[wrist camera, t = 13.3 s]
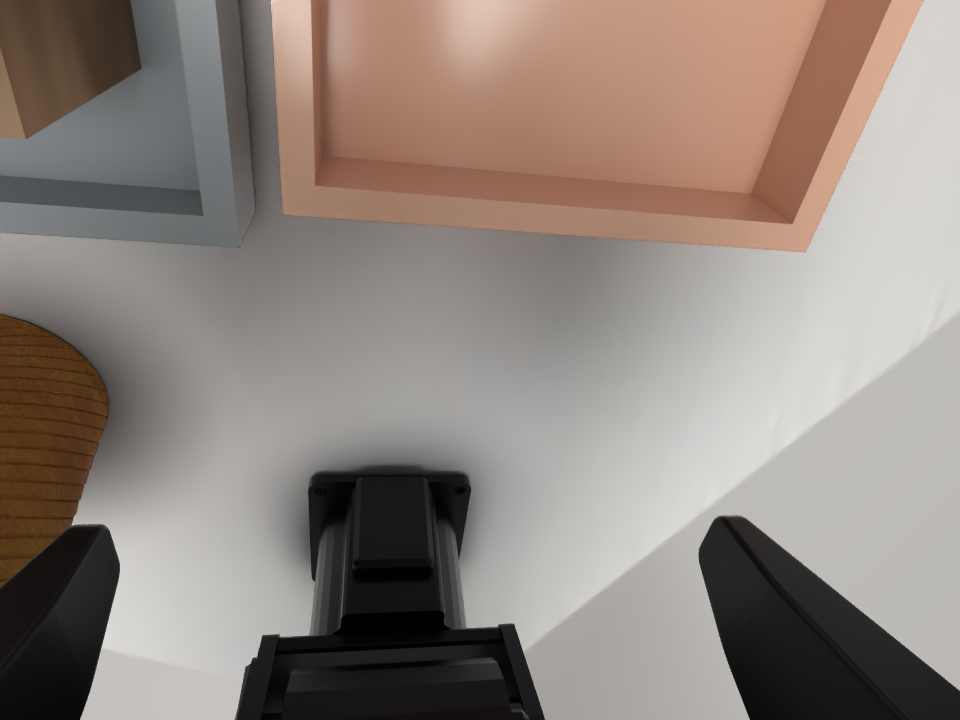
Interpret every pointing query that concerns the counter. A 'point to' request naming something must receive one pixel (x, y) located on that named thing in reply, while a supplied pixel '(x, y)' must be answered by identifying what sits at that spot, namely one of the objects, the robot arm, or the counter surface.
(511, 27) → the dish
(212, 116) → the tray
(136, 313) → the counter surface
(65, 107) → the block
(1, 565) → the disposable coffee cup
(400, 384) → the counter surface
